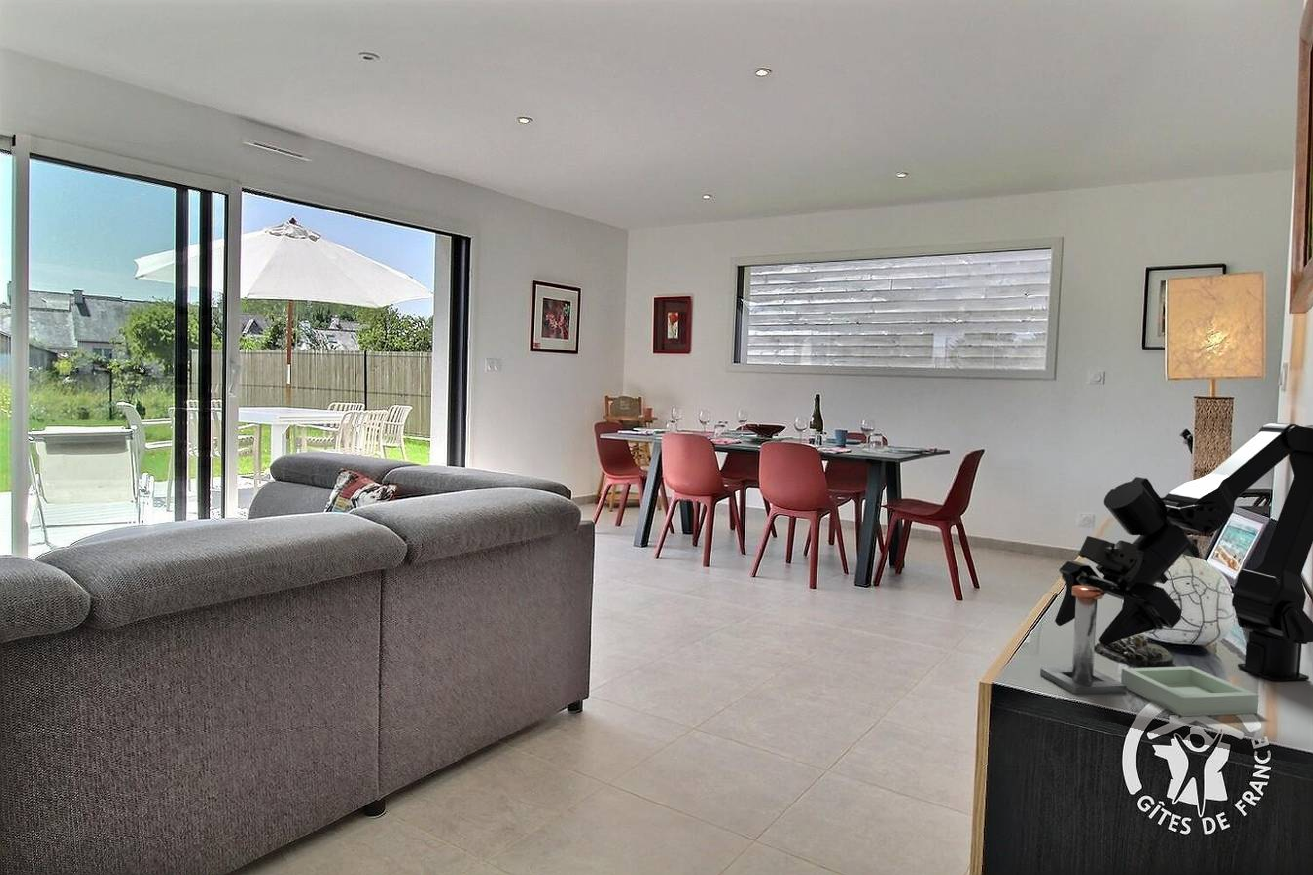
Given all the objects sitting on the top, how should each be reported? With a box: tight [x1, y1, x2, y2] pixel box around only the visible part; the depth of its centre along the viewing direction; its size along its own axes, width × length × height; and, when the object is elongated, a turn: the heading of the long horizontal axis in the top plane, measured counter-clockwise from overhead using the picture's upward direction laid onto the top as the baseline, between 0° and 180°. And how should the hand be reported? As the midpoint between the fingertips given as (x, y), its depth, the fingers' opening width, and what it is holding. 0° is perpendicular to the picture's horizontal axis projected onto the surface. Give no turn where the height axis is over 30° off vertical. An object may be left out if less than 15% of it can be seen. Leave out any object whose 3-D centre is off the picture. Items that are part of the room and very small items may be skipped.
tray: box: [1120, 665, 1260, 718], centre depth 116 cm, size 11×11×2 cm
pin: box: [1071, 586, 1104, 682], centre depth 121 cm, size 4×4×14 cm
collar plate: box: [1039, 666, 1127, 695], centre depth 122 cm, size 8×8×1 cm
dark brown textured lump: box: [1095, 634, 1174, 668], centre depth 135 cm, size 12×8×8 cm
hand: (1078, 633), depth 121 cm, fingers open, 9 cm apart
